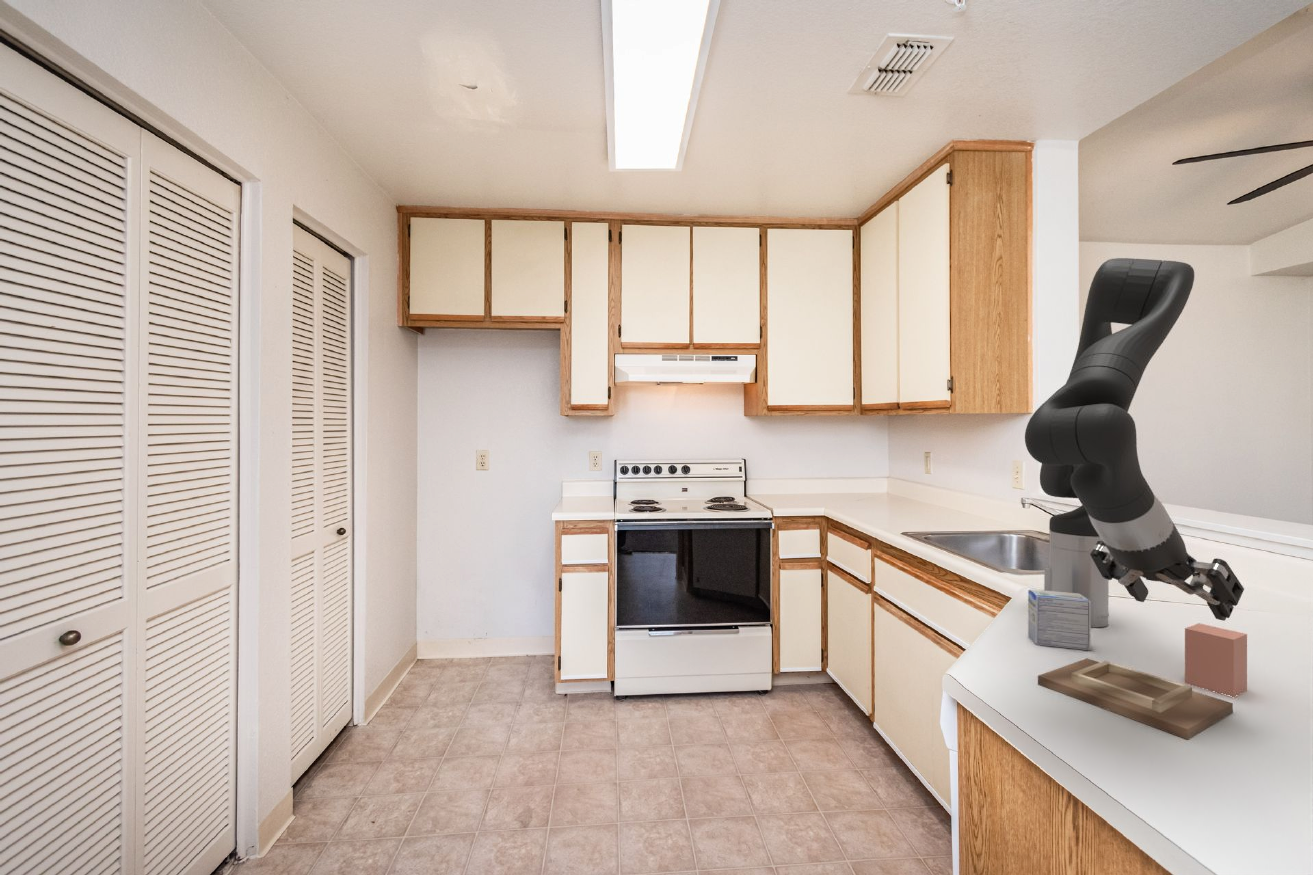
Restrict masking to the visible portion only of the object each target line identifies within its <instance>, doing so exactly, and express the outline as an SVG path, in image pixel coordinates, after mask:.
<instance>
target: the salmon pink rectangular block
mask: <svg viewBox="0 0 1313 875" xmlns="http://www.w3.org/2000/svg"><path fill="white" fill-rule="evenodd" d="M1184 684H1185V685H1186V684H1187V685H1189V684H1190V686H1192V685H1193V687H1196V686H1197V687H1196V688H1199V687H1200V689H1202V688H1204V690H1206V689H1208V690H1207V691H1209V690H1210V692H1212V691H1215V692H1214V693H1216V692H1217V693H1216V694H1219V693H1223V694H1226V695H1230V696H1232V697H1235V696H1236V695H1238V696H1240V695H1241V694H1240V693H1242V694H1243V693H1245V692H1246V691H1247V692H1248V634H1247V633H1244V632H1240V631H1239V632H1238V631H1235V630H1230V629H1226V628H1221V627H1216V626H1213V625H1209V624H1204V623H1196V624H1193V625H1191V626H1187V627H1185V628H1184ZM1239 694H1240V695H1239ZM1232 697H1231V698H1232ZM1236 697H1237V696H1236ZM1236 697H1235V698H1236Z"/></svg>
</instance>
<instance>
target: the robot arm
mask: <svg viewBox="0 0 1313 875" xmlns="http://www.w3.org/2000/svg"><path fill="white" fill-rule="evenodd" d="M1194 281H1195V270H1194V268H1193V266H1192V265H1191V264H1189V263H1186V262H1182V261H1178V260H1177V261H1176V260H1162V259H1147V258H1132V257H1131V258H1129V257H1128V258H1127V257H1125V258H1123V257H1120V258H1119V257H1117V258H1110V259H1107V260H1106V261H1104V262H1103V263H1102V264H1101V265H1100V266H1099V267H1098V269H1097V270H1096V272H1095V274H1094V276H1093V278H1092V280H1091V284H1090V288H1089V290H1088V294H1087V298H1086V303H1085V309H1084V314H1083V320H1082V325H1081V330H1080V331H1081V332H1080V334H1079V335H1080V336H1079V342H1078V346H1077V349H1076V353H1075V357H1074V361H1073V363H1072V367H1071V370H1070V373H1069V375H1068V378H1067V380H1066V383H1065V384H1064V385H1062V386H1061V387H1060V388H1059V389H1057V391H1055V392H1054V393H1053V394H1052V395H1051V396H1050V397H1049V398H1048V399H1047V400H1045V401H1044V402H1043V403H1042V404H1041V405H1040V406H1039V407H1038V408H1037V409H1036V410H1035V412H1034V413H1033V414H1032V415H1031V417H1030V419H1029V421H1027V422H1028V423H1027V425H1026V428H1025V433H1024V442H1025V447H1026V450H1027V452H1028V454H1029V455H1030V456H1031V457H1032V458H1033V459H1034V460H1036V461H1037V462H1038V463H1040V464H1041V466H1040V470H1039V472H1040V473H1039V483H1040V487H1041V489H1042V491H1043V492H1044V493H1045V494H1046V495H1048V496H1050V497H1055V498H1063V499H1064V498H1065V499H1078V500H1079V502H1080V503H1081V506H1079V507H1077V508H1076V509H1073V510H1071V511H1067V512H1063V513H1059V514H1054V515H1053V516H1051V517H1050V518H1049V523H1048V524H1049V527H1048V528H1049V544H1048V545H1049V554H1048V555H1049V559H1048V560H1049V563H1048V564H1049V566H1047V567H1045V568H1044V570H1043V572H1044V573H1043V574H1044V576H1043V577H1044V580H1043V581H1044V584H1043V585H1044V586H1043V587H1044V588H1043V589H1044V590H1043V591H1056V592H1067V593H1078V594H1081V595H1082V596H1084V597H1086V598H1087V599H1088V600H1089V601H1091V628H1102V627H1103V628H1104V627H1107V626H1109V617H1110V616H1109V615H1110V612H1109V605H1110V604H1109V598H1110V596H1109V593H1110V592H1109V589H1110V588H1109V583H1110V582H1109V581H1111V580H1116V581H1117V582H1118V584H1120V585H1122V586H1124V588H1125V589H1126V591H1127V592H1128V594H1129V595H1130V596H1131V597H1133V598H1134V600H1135V601H1137V602H1140V603H1144V602H1145V601H1146V598H1147V596H1148V595H1149V589H1148V587H1147V586H1146V585H1145V582H1144V580H1142V578H1144V579H1146V581H1151V582H1152V581H1153V582H1161V583H1163V584H1167V585H1173V586H1175V587H1176V588H1178V589H1179V590H1181V591H1183V592H1184V593H1186V594H1188V595H1190V596H1191V595H1196V596H1197V597H1199V598H1201V599H1202V600H1204V601H1206V604H1207V605H1208V607H1209V609H1210V611H1211V613H1212V614H1213V617H1214V618H1215V619H1216V620H1219V621H1222V622H1223V621H1226V619H1229V618H1230V617H1231V615H1232V613H1233V610H1234V607H1236V606H1237V605H1238V604H1239V602H1240V599H1241V598H1242V595H1243V593H1244V591H1245V587H1244V586H1243V585H1242V583H1241V582H1240V580H1239V579H1238V577H1237V576H1236V574H1235V573H1234V571H1233V570H1232V568H1231V567H1230V565H1229V564H1228V562H1227V561H1226V560H1224V559H1221V558H1214V559H1213V560H1212V561H1211V562H1204V561H1197V560H1196V559H1195V557H1193V556H1191V555H1190V554H1189V553H1188V551H1187V547H1186V544H1185V541H1184V539H1183V537H1182V535H1181V533H1180V532H1179V531H1178V529H1177V527H1176V525H1175V523H1174V522H1173V520H1172V519H1171V518H1172V517H1171V516H1170V515H1169V513H1168V511H1167V510H1166V508H1165V506H1164V505H1163V502H1161V501H1160V500H1159V498H1157V496H1156V495H1155V494H1154V492H1153V490H1152V489H1151V487H1150V485H1149V483H1148V482H1147V480H1146V478H1145V477H1144V475H1143V473H1142V469H1141V465H1140V461H1139V456H1138V447H1137V444H1138V443H1137V439H1138V438H1137V428H1136V422H1135V420H1134V418H1133V417H1132V416H1131V414H1130V413H1129V410H1130V407H1131V405H1132V402H1133V399H1134V398H1135V397H1134V396H1135V394H1136V392H1137V389H1138V387H1139V385H1140V382H1141V380H1142V378H1143V375H1144V372H1145V370H1146V369H1147V366H1148V365H1149V363H1150V361H1151V360H1152V358H1153V357H1154V355H1155V354H1156V352H1157V351H1158V350H1159V349H1160V347H1161V345H1162V344H1163V343H1164V342H1165V340H1166V338H1167V337H1168V335H1169V334H1170V332H1171V331H1172V329H1173V327H1174V325H1175V324H1176V323H1177V322H1178V319H1179V318H1180V316H1181V314H1182V313H1183V310H1184V309H1185V307H1186V305H1187V302H1188V300H1189V297H1190V294H1191V292H1192V290H1193V286H1194ZM1113 323H1115V324H1121V325H1129V326H1127V327H1125V328H1123V329H1120V330H1118V331H1116V332H1113V330H1112V324H1113ZM1120 565H1121V566H1122V567H1124V568H1122V567H1120ZM1141 577H1142V578H1141ZM1190 577H1192V578H1191V579H1190V582H1189V583H1188V582H1186V580H1187V579H1189V578H1190ZM1204 586H1206V587H1208V588H1209V589H1210V591H1207V590H1206V589H1205V588H1204Z"/></svg>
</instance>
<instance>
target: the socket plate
mask: <svg viewBox="0 0 1313 875" xmlns="http://www.w3.org/2000/svg"><path fill="white" fill-rule="evenodd" d="M1037 685H1039V686H1042V687H1045V688H1048V689H1050V690H1053V691H1055V692H1058V693H1060V694H1063V695H1065V696H1068V697H1072V698H1074V699H1077V700H1080V701H1082V702H1085V703H1088V704H1090V705H1093V706H1096V707H1099V708H1101V709H1104V710H1106V711H1110V712H1112V713H1115V714H1117V715H1119V716H1123V717H1124V718H1128V719H1131V720H1133V721H1137V722H1139V723H1142V724H1144V725H1147V726H1150V727H1152V728H1156V729H1157V730H1160V731H1164V732H1166V733H1168V734H1170V735H1174V736H1177V737H1180V738H1182V739H1185V740H1187V741H1188V740H1189V739H1192V738H1193V737H1195V736H1197V735H1198V734H1200V733H1201V732H1203V731H1205V730H1206V729H1208V728H1210V727H1211V726H1213V725H1214V724H1216V723H1218V722H1219V721H1221V720H1223V719H1225V718H1226V717H1228V716H1229V715H1232V714H1233V713H1234V708H1233V707H1234V704H1233V702H1230V701H1226V700H1224V699H1221V698H1217V697H1214V696H1210V695H1208V694H1204V693H1200V692H1198V691H1194V690H1193V687H1192V686H1191V685H1190V686H1189V685H1186V684H1182V683H1179V682H1177V681H1173V680H1171V679H1167V678H1163V677H1160V676H1156V675H1153V674H1150V673H1146V672H1144V671H1140V670H1137V669H1134V668H1130V667H1127V666H1123V665H1120V664H1117V663H1114V662H1110V661H1107V660H1103V661H1097V660H1094V659H1092V658H1091V659H1090V658H1084V659H1082V660H1078V661H1075V662H1073V663H1069V664H1067V665H1064V666H1061V667H1059V668H1056V669H1053V670H1050V671H1047V672H1045V673H1042V674H1039V675H1037Z"/></svg>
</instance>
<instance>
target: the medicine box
mask: <svg viewBox="0 0 1313 875" xmlns="http://www.w3.org/2000/svg"><path fill="white" fill-rule="evenodd" d="M1027 596H1028V597H1027V598H1028V599H1027V601H1028V602H1027V603H1028V604H1027V606H1028V607H1027V608H1028V609H1027V612H1028V614H1027V616H1028V619H1027V621H1028V622H1027V625H1028V626H1027V627H1028V628H1027V632H1028V633H1027V634H1028V635H1027V636H1028V638H1030V640H1031V641H1032V642H1033V643H1034V644H1035V645H1037V646H1038V645H1039V646H1043V647H1045V646H1046V647H1052V648H1053V647H1054V648H1055V647H1056V648H1065V649H1072V650H1073V649H1074V650H1083V651H1091V650H1092V649H1091V637H1092V636H1091V632H1092V631H1091V628H1092V627H1091V601H1089V600H1088V599H1087V598H1086V597H1084V596H1082V595H1081V594H1078V593H1067V592H1056V591H1044V590H1040V589H1028V592H1027Z"/></svg>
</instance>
